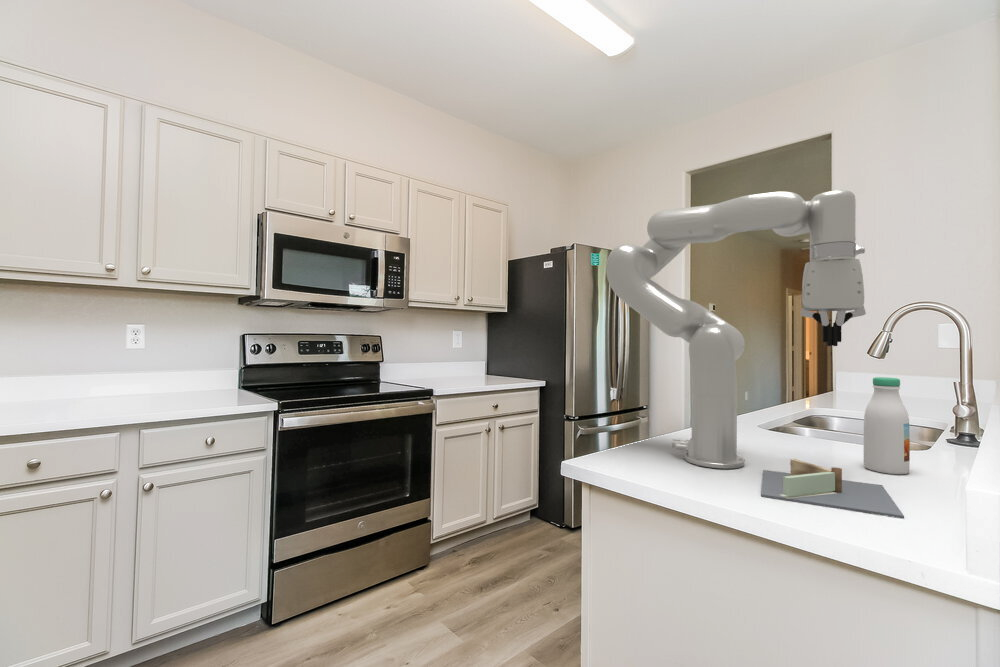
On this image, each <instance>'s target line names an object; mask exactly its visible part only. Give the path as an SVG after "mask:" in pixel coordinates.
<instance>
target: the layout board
mask: <svg viewBox="0 0 1000 667" xmlns="http://www.w3.org/2000/svg"><path fill="white" fill-rule="evenodd" d="M784 476H792V475H791V472H782V471H776V470H769V469H763V470H762V480H761V481H762V482H761V492H760V496H761V497H762V498H767V499H774V500H780V501H788V502H794V503H800V504H801V503H802V504H808V505H813V506H819V507H820V506H821V507H827V508H833V509H839V508H840V509H839V510H847V511H853V512H858V513H866V514H871V513H873V514H872V515H878V514H880V515H879V516H884V515H888V516H887V517H891V516H894V517H893V518H897V517H899V518H900V519H905V515H904V514H903V512H902V511H901V510H900V508H899V506H898V505H897V504H896V502H895V501H894V500H893V498H892V497H891V496H890V494H889V492H888V491H887V490H886V489H885V487H884V486H883V484H877V483H869V482H861V481H854V480H853V481H852V480H845V479H842V493H836V492H833V491H827V492H819V493H811V494H803V495H795V496H786V495H783V477H784Z"/></svg>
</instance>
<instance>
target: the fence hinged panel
mask: <svg viewBox="0 0 1000 667" xmlns="http://www.w3.org/2000/svg"><path fill="white" fill-rule="evenodd" d="M827 491H835V473H833V472H821V473H812V474H803V475H793V476H784V477H783V495H786V496H795V495H803V494H811V493H819V492H827Z"/></svg>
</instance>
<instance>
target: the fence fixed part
mask: <svg viewBox="0 0 1000 667" xmlns="http://www.w3.org/2000/svg"><path fill="white" fill-rule="evenodd" d="M821 472H833V473H835V491H833V492H836V493H842V480H843V468H840V467H836V466H835V467H833V466H832V467H831V469H829V468H826V467H823V466H819V465H816V464H812V463H810V462H809V463H808V462H806V461H803V460H799V459H795V458H791V459H790V473H791V475H792V476H793V475H803V474H812V473H821Z"/></svg>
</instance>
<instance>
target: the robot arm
mask: <svg viewBox="0 0 1000 667" xmlns="http://www.w3.org/2000/svg"><path fill="white" fill-rule="evenodd" d="M856 202H857V201H856V195H855V193H853V191H851V190H844V189H837V190H835V189H834V190H829V191H825V192H821V193H818V194H816V195H814V196H813V197H812V199H811V200H804V198H803V197H802V196H801V195H800V194H797V193H795V192H792V191H771V192H770V191H769V192H764V193H756V194H755V193H754V194H747V195H742V196H738V197H734V198H732V199H728V200H725V201H721V202H719V203H714V204H707V205H698V206H691V207H690V206H689V207H681V208H680V207H679V208H673V209H671V208H670V209H664V210H661V211H657V212H656V213H654V214H653V215H651V216H650V218H649V220H648V221H647V225H646V230H647V235H648V237H649V240H647V242H645V243H644V244H643V245H642V246H640V245H636V244H632V243H631V244H630V243H623V244H619V245H618V246H616V247H614V248H613V249H612V250H611V251H610V253H609V254H608V257H607V260H606V266H605V270H606V273H605V274H606V278H607V282H608V284H609V286H610V288H611V289H612V291H613V292H614V294H615V295H616V296H617V297H618V298H619V299H620V300H621V301H622V302H623V303H624V304H626V305H627V306H628V307H630V308H632V309H633V310H634V311H635V312H637V313H638V314H639V315H640V316H641V317H642V318H644V319H645V320H647V321H648V322H649V323H651V325H653V326H655V327H656V328H657V329H658V330H660V331H661V332H662V333H663V334H665V335H667V336H668V337H673V338H681V339H682V340H684V341H685V342H687V343H688V354H689V362H690V363H689V365H690V375H691V376H690V377H691V382H690V384H691V386H690V387H691V392H690V393H691V438H690V439H686V440H681V439H672V440H671V447H672V448H674V449H675V450H685V453H684V457H683V458H684V460H685V461H687V462H688V463H690V464H692V465H696V466H699V467H705V468H710V469H711V468H713V469H725V470H727V469H728V470H729V469H730V470H731V469H739V468H743V467H745V463H746V462H745V459H744V457H742V456H740V455H738V454H737V452H738V449H737V448H738V447H737V446H738V384H737V383H738V381H737V379H738V378H737V368H736V367H737V365H736V361H737V360H739V359H740V357H741V356H742V355H743V353H744V351H745V345H746V342H745V338H744V336H743V335H742V332H740V330H738V328H736V327H734V326H733V325H731V324H730V323H729V322H728V321H726V320H724V319H723V318H721V317H719V316H718V315H717V314H715V313H714V312H712V311H710V310H709V309H708V308H706V307H704V306H703V305H702V304H700V303H697V302H695V301H693V300H691V299H690V300H689V299H684V298H681V297H678V296H676V295H675V294H674V293H672V292H671V291H669V290H667V289H665V287H662V286H661V285H660V284H659V283H657V282H655V281H654V280H652V278H654V277H655V276H656V275H657V274H659V273H660V272H661V271H662V270H663V269H664V268H665V267H666V266H667V265H668V264H670V263H671V262H672V260H674V259H675V258H676V257H678V255H679V254H680V253H682V251H683V250H684V249H685V248H686V247H687V246H688V245H690V244H702V243H703V244H704V243H705V244H706V243H716V242H717V243H718V242H720V241H722V240H724V239H725V238H726V237H729V236H730V235H735V234H738V233H743V232H749V231H751V232H753V231H763V230H764V231H765V230H772V231H773V232H774V233H775V234H777V236H781V237H787V238H788V237H795V236H801V235H805V234H809V261H807V262H805V265H804V269H803V273H802V274H803V275H802V282H801V283H802V287H801V311H800V314H799V315H800V316H801V317H804V318H808V319H809V318H810V319H814V320H815V321H816V322H817V323H818V324H820V325H821V326H822V342H823V343H826V345H825V346H827V347H831V346H833V347H838V345H839V344H838V343H842V327H843V325H844V324H846V323H847V322H848V321H849V320H850V319H853V318H858V317H861V316H862V317H863V316H865V315H866V313H867V312H866V308H865V305H864V304H865V288H864V286H865V285H864V276H863V270H862V269H863V268H862V264H861V261H860V259H858V258H856V257H857V256H858V255H862V254H865V253H866V250H865V249H866V248H865V246H860V245H858V244H857V242H856V220H857V219H856V217H857V216H856V214H857V213H856V207H857V206H856V204H857V203H856ZM828 312H836V314H835V319H834V322H833V323H831V322H830V320H829V315H828ZM832 324H833V325H832ZM831 325H832V326H831Z"/></svg>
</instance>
